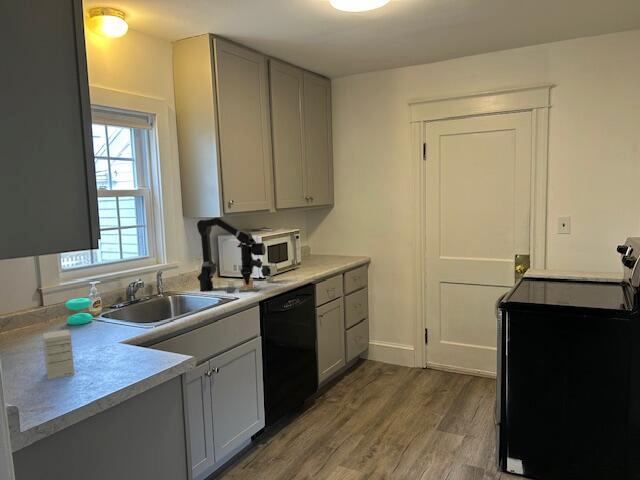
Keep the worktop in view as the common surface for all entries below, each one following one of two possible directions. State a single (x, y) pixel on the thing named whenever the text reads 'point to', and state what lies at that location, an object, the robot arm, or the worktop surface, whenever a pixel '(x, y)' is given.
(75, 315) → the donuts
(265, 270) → the pneumatic valve
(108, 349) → the worktop surface
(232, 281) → the block
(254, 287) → the plate
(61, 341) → the supplement box
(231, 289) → the ram rail
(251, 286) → the block
